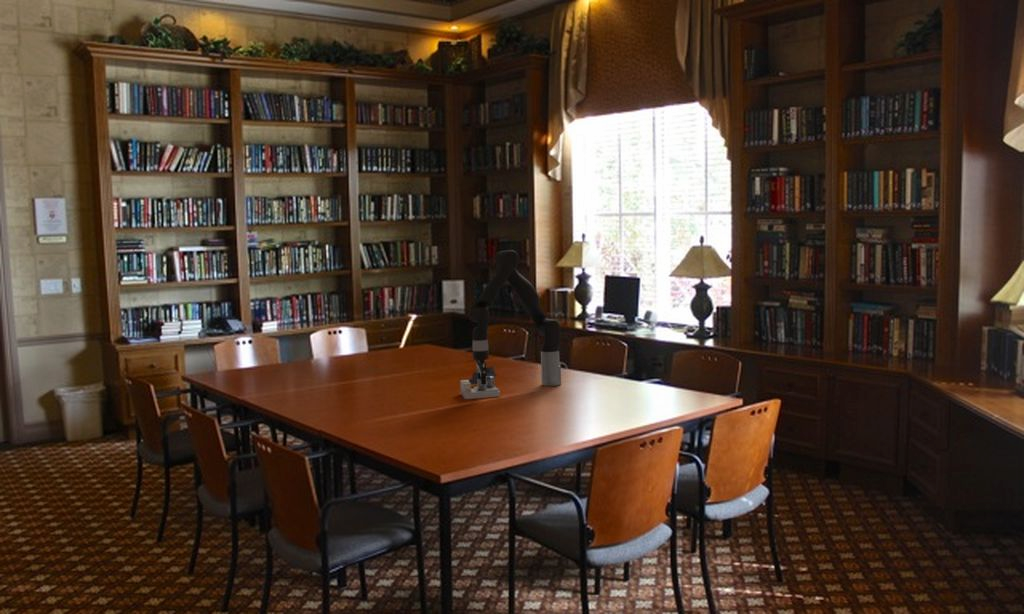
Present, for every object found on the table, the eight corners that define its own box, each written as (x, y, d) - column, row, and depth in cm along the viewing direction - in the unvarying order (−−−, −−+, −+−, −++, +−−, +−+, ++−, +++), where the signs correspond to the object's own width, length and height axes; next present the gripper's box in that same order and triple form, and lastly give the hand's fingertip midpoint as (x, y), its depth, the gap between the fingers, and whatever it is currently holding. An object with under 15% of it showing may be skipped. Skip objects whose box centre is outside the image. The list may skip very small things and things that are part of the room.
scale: (495, 391, 443) (494, 376, 442) (500, 396, 430) (499, 381, 429) (460, 394, 439) (460, 379, 438) (464, 399, 427) (464, 384, 426)
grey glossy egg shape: (493, 385, 441) (493, 375, 440) (495, 387, 436) (495, 377, 436) (484, 386, 440) (484, 376, 439) (486, 388, 436) (486, 377, 435)
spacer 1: (485, 388, 434) (485, 378, 434) (487, 390, 430) (486, 379, 429) (476, 389, 433) (476, 379, 433) (478, 391, 429) (477, 380, 428)
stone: (473, 388, 453) (472, 368, 452) (468, 386, 458) (467, 367, 457) (497, 385, 459) (497, 365, 458) (492, 383, 464) (492, 364, 463)
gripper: (491, 350, 423) (492, 384, 425) (485, 346, 437) (487, 379, 439) (475, 351, 422) (476, 386, 423) (470, 347, 436) (471, 380, 437)
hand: (482, 382), depth 431 cm, fingers open, 8 cm apart
